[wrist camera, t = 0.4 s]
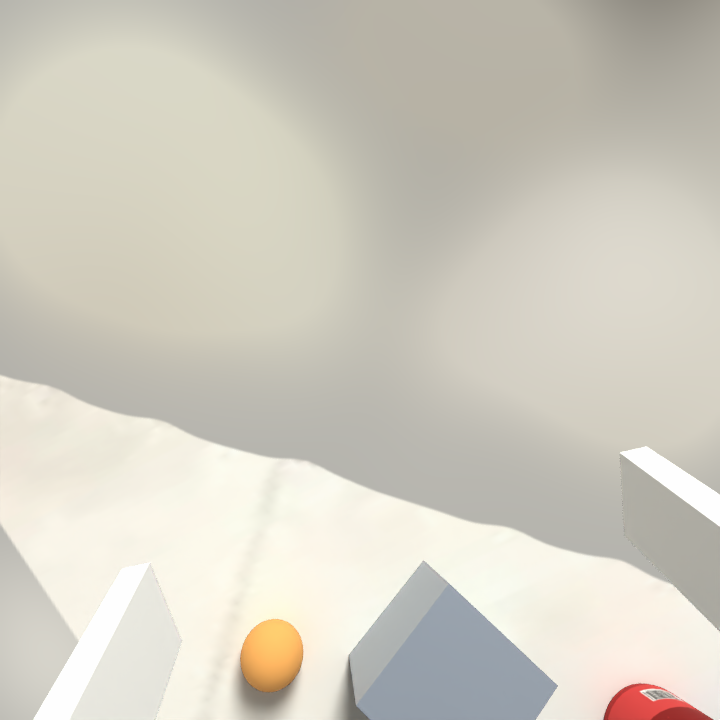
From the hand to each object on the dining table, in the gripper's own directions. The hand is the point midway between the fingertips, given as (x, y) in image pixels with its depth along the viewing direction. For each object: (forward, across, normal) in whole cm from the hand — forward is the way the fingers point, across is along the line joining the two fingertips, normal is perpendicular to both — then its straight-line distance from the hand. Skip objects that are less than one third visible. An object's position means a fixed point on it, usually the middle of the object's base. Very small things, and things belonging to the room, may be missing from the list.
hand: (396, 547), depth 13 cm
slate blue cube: (+21, -1, +28) cm, 35 cm away
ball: (+19, +12, +23) cm, 32 cm away
